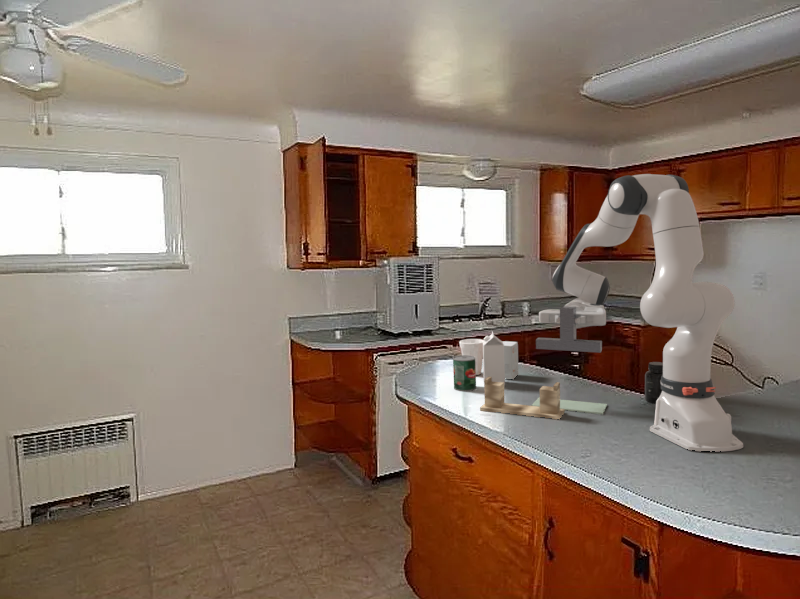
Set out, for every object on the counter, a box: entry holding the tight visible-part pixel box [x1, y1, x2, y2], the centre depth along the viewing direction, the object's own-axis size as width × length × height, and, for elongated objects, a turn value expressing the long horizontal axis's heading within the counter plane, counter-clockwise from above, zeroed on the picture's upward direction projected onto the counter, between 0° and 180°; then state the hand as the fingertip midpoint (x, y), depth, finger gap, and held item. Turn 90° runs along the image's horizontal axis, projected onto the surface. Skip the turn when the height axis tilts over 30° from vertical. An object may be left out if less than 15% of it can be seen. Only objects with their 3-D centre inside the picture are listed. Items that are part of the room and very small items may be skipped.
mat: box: [530, 396, 608, 415], centre depth 169 cm, size 21×9×1 cm, turn 62°
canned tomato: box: [452, 355, 477, 392], centre depth 194 cm, size 8×8×11 cm
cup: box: [458, 338, 484, 376], centre depth 213 cm, size 10×10×13 cm
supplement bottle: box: [644, 361, 663, 405], centre depth 169 cm, size 7×7×12 cm
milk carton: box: [482, 330, 506, 387], centre depth 197 cm, size 7×7×19 cm
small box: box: [501, 340, 519, 380], centre depth 206 cm, size 8×6×13 cm
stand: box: [479, 377, 566, 421], centre depth 165 cm, size 24×7×10 cm, turn 62°
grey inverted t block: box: [535, 306, 603, 353], centre depth 166 cm, size 19×4×13 cm, turn 62°
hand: (567, 321), depth 165 cm, fingers closed on grey inverted t block, 4 cm apart
